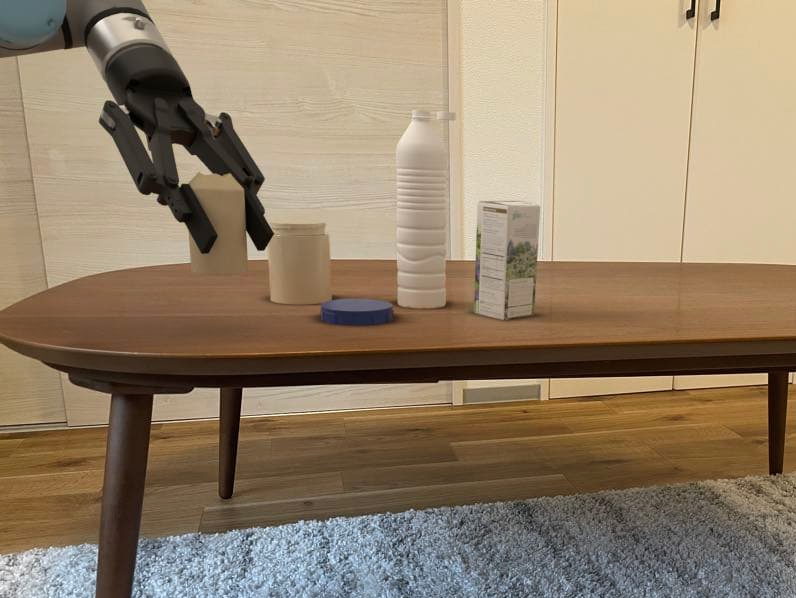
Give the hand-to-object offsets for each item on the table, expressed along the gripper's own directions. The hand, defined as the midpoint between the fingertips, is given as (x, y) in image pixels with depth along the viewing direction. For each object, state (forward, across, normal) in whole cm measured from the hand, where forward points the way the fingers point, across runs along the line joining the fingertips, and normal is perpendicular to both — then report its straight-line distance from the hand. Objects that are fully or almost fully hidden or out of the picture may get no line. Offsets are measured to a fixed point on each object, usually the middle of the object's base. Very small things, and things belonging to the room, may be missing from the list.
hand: (238, 243), depth 78 cm
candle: (0, 0, +5) cm, 5 cm away
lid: (+5, +16, +7) cm, 18 cm away
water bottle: (+5, +30, +10) cm, 32 cm away
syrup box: (+13, +32, +1) cm, 35 cm away
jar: (-5, +19, +19) cm, 27 cm away
